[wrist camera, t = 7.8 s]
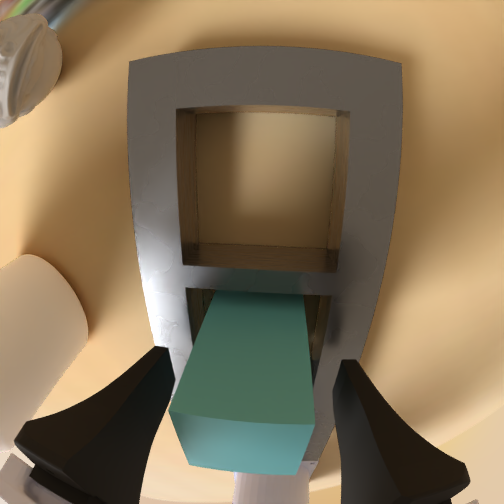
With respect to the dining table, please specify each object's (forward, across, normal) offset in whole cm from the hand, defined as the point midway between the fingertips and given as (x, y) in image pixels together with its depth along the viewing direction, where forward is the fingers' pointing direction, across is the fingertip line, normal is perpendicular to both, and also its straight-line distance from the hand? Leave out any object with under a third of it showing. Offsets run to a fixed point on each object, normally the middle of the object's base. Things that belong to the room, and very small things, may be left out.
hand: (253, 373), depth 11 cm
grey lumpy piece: (+4, +12, -14) cm, 19 cm away
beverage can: (+4, +15, +1) cm, 16 cm away
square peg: (+4, 0, 0) cm, 4 cm away
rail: (+4, 0, 0) cm, 4 cm away
